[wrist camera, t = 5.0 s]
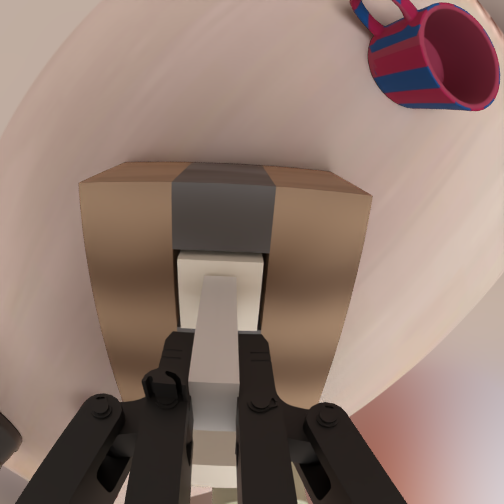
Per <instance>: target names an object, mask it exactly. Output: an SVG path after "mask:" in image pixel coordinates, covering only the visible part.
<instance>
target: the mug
mask: <svg viewBox="0 0 504 504" xmlns="http://www.w3.org/2000/svg"><path fill="white" fill-rule="evenodd" d="M392 1H393V2H394V3H395V4H396V5H397V6H398V7H399V9H400V10H401V12H402V14H403V16H404V18H401V19H399V20H397V21H395V22H393V23H391V24H389V25H387V26H383V25H381V24H380V23H379V22H378V21H377V20H375V19H374V18H373V17H372V15H371V14H370V13H369V12H368V11H367V9H366V8H365V6H364V5H363V3H362V0H350V4H351V7H352V9H353V11H354V13H355V14H356V15H357V17H358V18H359V19H360V20H361V22H362V23H363V24H364V25H365V26H366V27H367V28H368V29H369V31H370V32H371V33H372V34H373V35H374V36H373V38H372V40H371V42H370V45H369V50H368V62H369V66H370V70H371V73H372V76H373V78H374V80H375V81H376V83H377V85H378V86H379V88H380V89H381V90H382V92H383V93H384V94H385V95H386V96H387V97H388V98H390V99H391V100H392V101H394V102H395V103H397V104H399V105H401V106H404V107H407V108H416V109H449V110H466V111H480V110H484V109H485V108H487V107H489V105H490V104H491V103H492V102H493V101H494V99H495V98H496V95H497V93H498V90H499V84H500V68H499V62H498V57H497V54H496V51H495V48H494V46H493V44H492V42H491V40H490V38H489V36H488V35H487V33H486V31H485V30H484V29H483V27H482V26H481V25H480V23H479V22H478V21H477V20H476V19H475V18H474V17H473V16H472V15H470V14H469V13H468V12H467V11H465V10H464V9H462V8H460V7H458V6H456V5H454V4H450V3H435V4H432V5H430V6H428V7H425V8H423V9H420V10H417V9H416V8H415V6H414V5H413V4H412V3H411V2H410V0H392Z"/></svg>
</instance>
